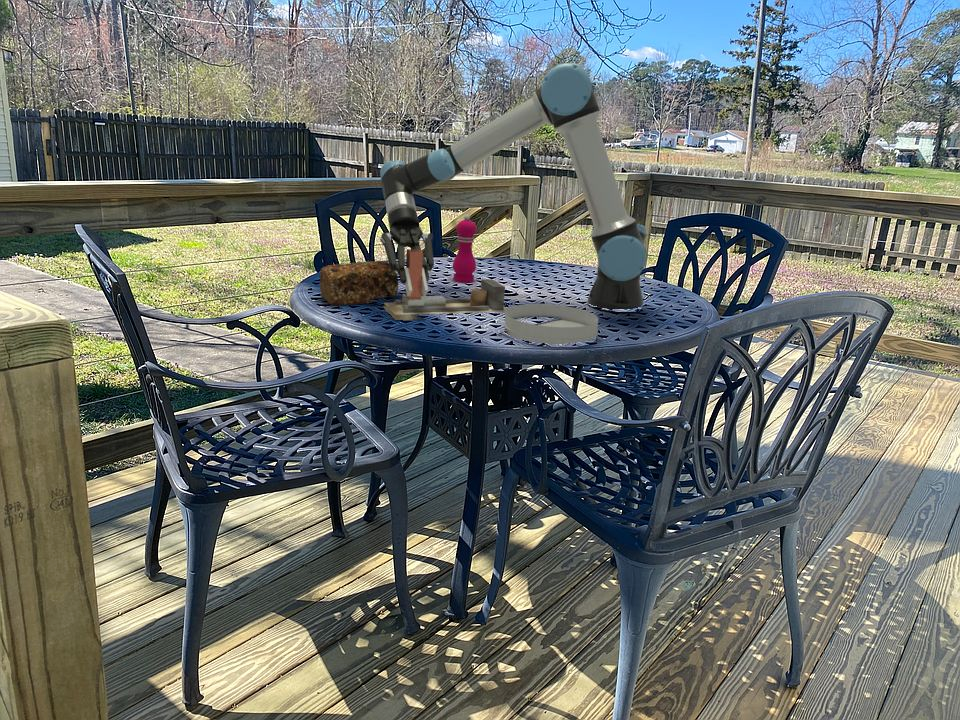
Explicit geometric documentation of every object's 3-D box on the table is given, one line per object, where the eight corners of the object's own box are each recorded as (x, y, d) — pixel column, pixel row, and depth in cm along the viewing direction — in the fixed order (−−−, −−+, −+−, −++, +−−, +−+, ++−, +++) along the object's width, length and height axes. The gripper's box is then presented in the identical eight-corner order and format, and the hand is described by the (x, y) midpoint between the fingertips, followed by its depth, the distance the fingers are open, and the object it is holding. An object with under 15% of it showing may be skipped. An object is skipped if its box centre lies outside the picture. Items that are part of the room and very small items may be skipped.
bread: (385, 294, 203) (386, 258, 200) (399, 303, 194) (400, 265, 191) (318, 297, 195) (318, 259, 192) (329, 306, 186) (329, 267, 183)
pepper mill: (474, 283, 223) (478, 217, 217) (451, 282, 223) (454, 215, 217) (475, 279, 230) (479, 214, 224) (452, 277, 230) (455, 212, 224)
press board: (493, 305, 197) (495, 278, 195) (510, 316, 187) (512, 287, 184) (383, 308, 187) (384, 279, 184) (395, 320, 176) (395, 290, 174)
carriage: (439, 303, 188) (442, 248, 184) (447, 308, 183) (449, 252, 179) (401, 304, 185) (403, 248, 181) (408, 309, 180) (409, 252, 175)
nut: (488, 306, 190) (490, 291, 188) (479, 308, 186) (480, 293, 185) (476, 303, 192) (477, 288, 190) (466, 305, 188) (468, 290, 187)
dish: (497, 343, 164) (499, 322, 162) (507, 319, 185) (509, 300, 183) (597, 353, 161) (600, 331, 160) (596, 328, 182) (598, 308, 181)
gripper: (429, 224, 194) (445, 300, 184) (368, 223, 188) (381, 302, 179) (436, 206, 188) (453, 284, 178) (373, 205, 182) (387, 285, 172)
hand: (417, 293), depth 178 cm, fingers closed on carriage, 3 cm apart
